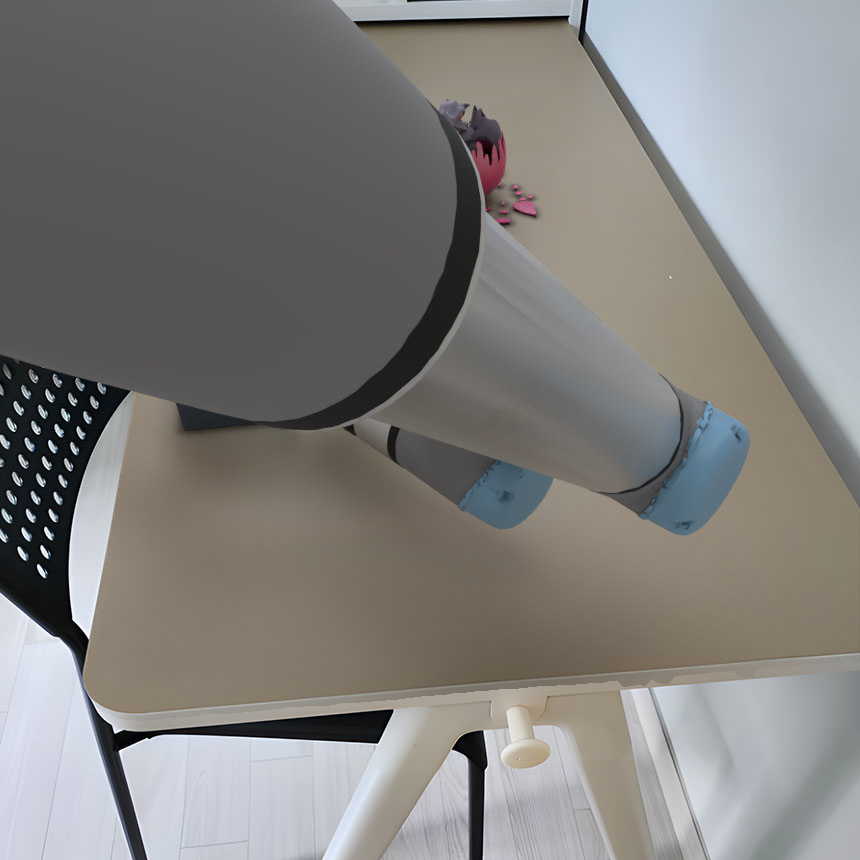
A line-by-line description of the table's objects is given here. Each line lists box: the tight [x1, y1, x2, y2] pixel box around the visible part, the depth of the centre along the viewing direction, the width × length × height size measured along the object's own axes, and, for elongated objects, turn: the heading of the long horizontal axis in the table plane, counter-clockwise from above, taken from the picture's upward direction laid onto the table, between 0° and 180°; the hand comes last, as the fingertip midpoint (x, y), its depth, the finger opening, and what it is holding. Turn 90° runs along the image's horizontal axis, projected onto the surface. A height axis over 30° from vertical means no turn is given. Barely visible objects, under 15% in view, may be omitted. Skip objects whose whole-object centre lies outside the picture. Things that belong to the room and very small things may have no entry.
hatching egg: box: [438, 98, 537, 224], centre depth 106 cm, size 20×16×14 cm
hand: (221, 298), depth 78 cm, fingers open, 13 cm apart
